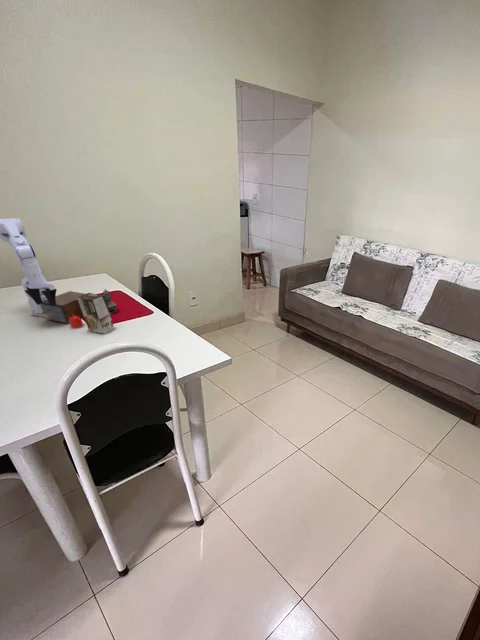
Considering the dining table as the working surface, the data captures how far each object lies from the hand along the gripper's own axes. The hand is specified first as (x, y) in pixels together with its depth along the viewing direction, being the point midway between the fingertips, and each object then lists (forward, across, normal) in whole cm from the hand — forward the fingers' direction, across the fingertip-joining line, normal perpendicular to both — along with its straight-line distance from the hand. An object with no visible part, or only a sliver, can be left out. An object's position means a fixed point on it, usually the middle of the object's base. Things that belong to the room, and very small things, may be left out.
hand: (46, 304), depth 147 cm
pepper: (+10, +11, +1) cm, 15 cm away
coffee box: (+11, +24, +2) cm, 26 cm away
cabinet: (+9, 0, +11) cm, 14 cm away
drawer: (+8, -1, +6) cm, 11 cm away
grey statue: (+10, +14, +20) cm, 27 cm away
